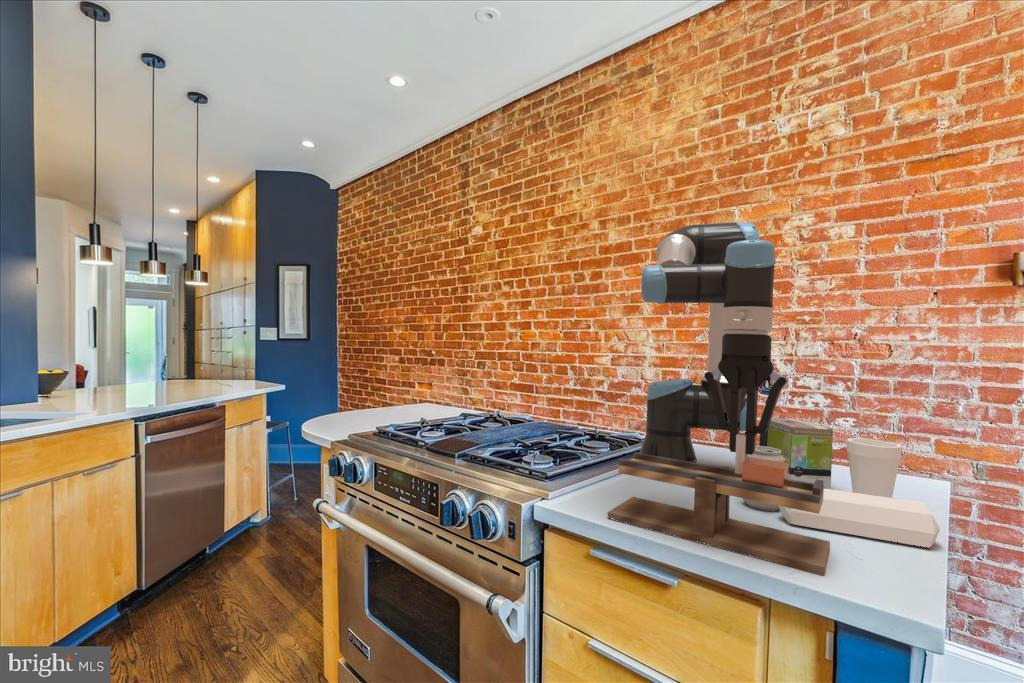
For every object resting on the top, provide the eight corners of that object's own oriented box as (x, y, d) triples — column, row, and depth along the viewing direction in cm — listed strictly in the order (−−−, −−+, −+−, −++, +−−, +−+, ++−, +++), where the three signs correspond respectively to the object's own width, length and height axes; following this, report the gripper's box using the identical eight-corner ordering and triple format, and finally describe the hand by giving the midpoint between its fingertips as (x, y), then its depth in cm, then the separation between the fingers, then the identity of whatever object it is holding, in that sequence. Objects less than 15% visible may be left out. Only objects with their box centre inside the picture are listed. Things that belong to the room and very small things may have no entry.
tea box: (832, 492, 112) (834, 428, 112) (788, 490, 112) (791, 426, 112) (795, 474, 127) (797, 417, 127) (756, 472, 127) (758, 416, 127)
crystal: (780, 507, 88) (951, 535, 77) (779, 479, 94) (939, 501, 83) (778, 535, 92) (942, 565, 81) (777, 506, 97) (930, 531, 86)
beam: (618, 472, 91) (619, 454, 91) (634, 464, 98) (635, 447, 98) (819, 513, 72) (819, 490, 72) (823, 500, 78) (823, 479, 78)
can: (789, 514, 96) (790, 453, 96) (748, 510, 97) (750, 450, 97) (776, 501, 103) (778, 445, 103) (738, 498, 104) (740, 443, 104)
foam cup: (850, 493, 111) (852, 436, 111) (902, 503, 104) (904, 443, 104) (841, 502, 104) (842, 441, 104) (895, 514, 97) (897, 449, 97)
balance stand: (607, 518, 90) (609, 462, 90) (632, 502, 100) (634, 451, 100) (824, 575, 70) (826, 503, 70) (829, 548, 80) (831, 484, 79)
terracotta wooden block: (741, 486, 80) (742, 462, 80) (748, 479, 84) (749, 456, 84) (783, 494, 76) (784, 469, 76) (787, 487, 80) (788, 463, 80)
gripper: (700, 331, 83) (695, 469, 83) (787, 333, 75) (780, 485, 75) (712, 333, 89) (707, 461, 89) (793, 334, 81) (787, 475, 81)
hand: (741, 472), depth 82 cm, fingers closed
